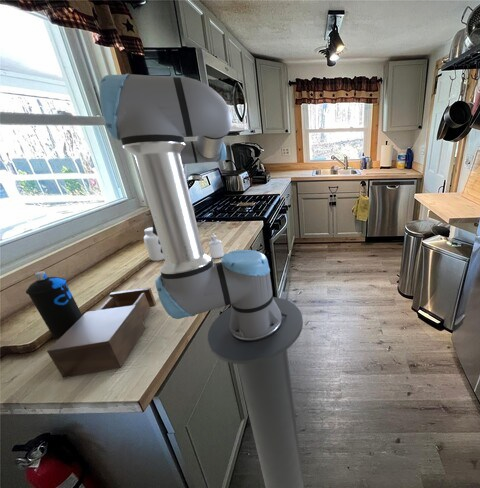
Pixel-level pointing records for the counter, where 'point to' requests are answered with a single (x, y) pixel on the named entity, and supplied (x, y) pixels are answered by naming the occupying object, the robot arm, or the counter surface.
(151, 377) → the counter surface
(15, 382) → the counter surface
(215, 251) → the eye dropper bottle
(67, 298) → the aerosol can
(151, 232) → the pill bottle
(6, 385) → the counter surface
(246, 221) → the counter surface
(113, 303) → the drawer
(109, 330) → the cabinet
